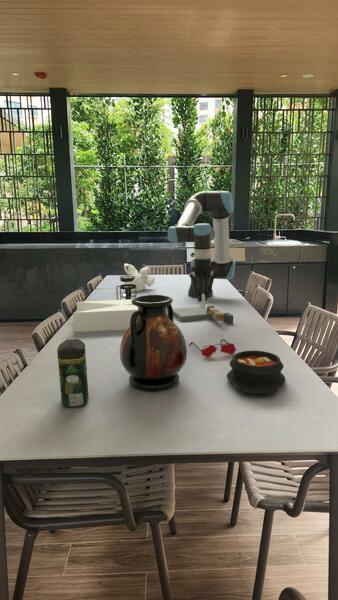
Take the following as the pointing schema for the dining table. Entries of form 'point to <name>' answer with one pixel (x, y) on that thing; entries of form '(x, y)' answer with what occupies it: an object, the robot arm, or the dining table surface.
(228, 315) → the block
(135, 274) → the white lobed sculpture
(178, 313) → the stool seat
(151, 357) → the amphora vase
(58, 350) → the coffee jar
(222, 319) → the hinged leg
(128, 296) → the french press
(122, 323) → the building model
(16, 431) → the dining table surface
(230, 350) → the glasses
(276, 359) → the casserole
